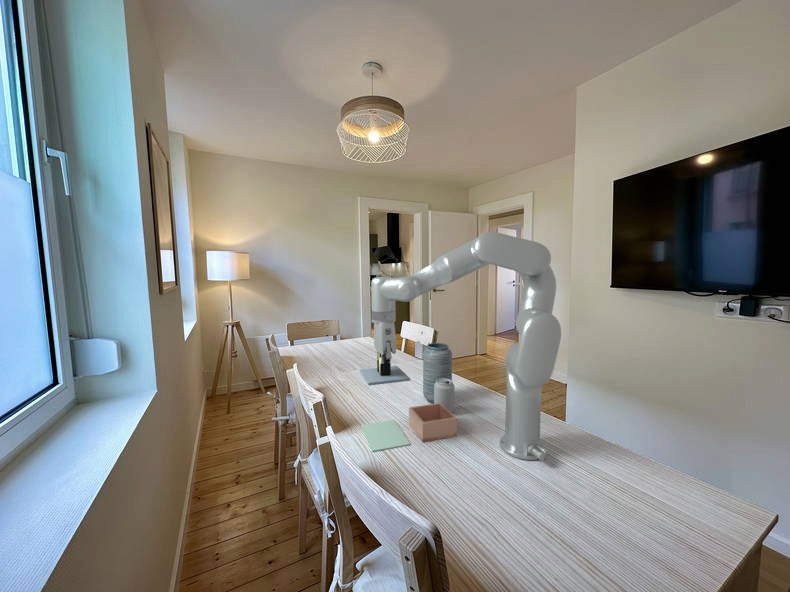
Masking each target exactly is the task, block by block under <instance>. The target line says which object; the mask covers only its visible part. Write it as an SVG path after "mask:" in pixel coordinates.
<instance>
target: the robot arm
mask: <svg viewBox="0 0 790 592" xmlns="http://www.w3.org/2000/svg"><path fill="white" fill-rule="evenodd" d="M551 262H552V255H551V252H550V250H549V248H548V247H547V246H545V245H544V244H542V243H540V242H538V241H533V240H529V239H526V238H522V237H521V238H520V237H516V236H515V235H514V236H513V235H510V234H506V233H502V232H497V231H485V232H483V233H481V234H480V235H478V236H477V237H476V238H475V239H472V240H470V241H468V242H466V243H464V244H462V245H460V246H459V247H456V248H454V249H453V250H451V251H448V252H446V253H445V254H442V255H441V256H439V257H438V258H437V259H436V260H434V262H432V263H431V264H429V265H427V266H426V267H425V266H424V267H423V268H422V269H420V270H418V271H416V272H413V273H411V274H410V275H408V276H407V275H406V276H400V277H389V276H377V277H374V278H372V280H371V285H370V286H371V294H370V295H371V298H370V299H371V322H372V323H374V324H373V346H374V349H375V350H376V351H377V352H376V355H377V356H376V358H377V360H376V368H377V372H379V358H380V357H381V363H380V375H381V376H389V375H391V362H392V361H391V360H392V354H396V353H397V338H396V327H395V325H396V324H395V322H396V320H397V319H396V301H399V302H405V303H406V302H407V303H408V302H411V301H414V300H415V299H416V298H418V297H420V296H422V295H424V294H425V293H427V292H430V291H432V290H434V289H436V288H438V287H441V286H443V285H447V284H451V283H454V282H455V281H458V280H460V279H462V278H463V277H466V276H468V275H470V274H472V273H474V272H477V271H478V270H480V269H483V268H484V267H487V266H488V265H494V266H497V267H499V268H504V269H507V270H509V271H510V270H511V271H515V272H516V273H517V274H518V275H519V276H520V278H521V280H522V286H523V287H522V296H521V300H520V305H519V310H518V313H517V317H516V321H515V328H516V332H517V333H518V334H519V336H520V338H519V342H516V343H514V344H512V345H511V346H510V347H509V348H508V349H507V352H506V356H505V375H506V388H505V389H506V390H505V391H506V395H505V431H504V434H503V435H502V436H501V437H500V438H499V446H500V448H501V449H502V451H504V452H505V453H506V454H508V455H510V456H511V457H514V458H517V459H520V460H526V461H534V460H535V461H536V460H540V461H541V462H542V461H544V460H545V458H546V456H549V455H548V454H549V451H548V450H547V449H546V446H545V445H544V443H543V439H541V438H540V437H541V416H542V415H541V413H542V411H541V410H542V409H541V408H542V387H543V386H544V385H546V384H547V383H548V382H549V381H550V379H551V378H552V375H553V372H554V369H555V364H556V361H557V357H558V353H559V348H560V344H561V339H562V327H561V324H560V321H559V320H558V318H556V316H555V315H553V310H554V306H555V299H556V292H557V281H556V276H555V273H554V271H553V269H552V266H550V265H551Z"/></svg>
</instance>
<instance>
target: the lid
mask: <svg viewBox="0 0 790 592" xmlns="http://www.w3.org/2000/svg"><path fill="white" fill-rule="evenodd" d="M380 363H381V357H380V358H379V372H377V367H372V368H363V369H362V368H361V369H359V373H360V375H361V376H362V378H363V380H364V381H365V382H366V384H367V385H368V386H375V385H377V386H378V385H385V384H395V383H402V382H410V381H411V377H410V376H409V375H408V374H407V373H405V372H404V371H403V370H402V369H401V368H400V367H399V366H397V365H392V366H391V375H389V376H381V375H380Z"/></svg>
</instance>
